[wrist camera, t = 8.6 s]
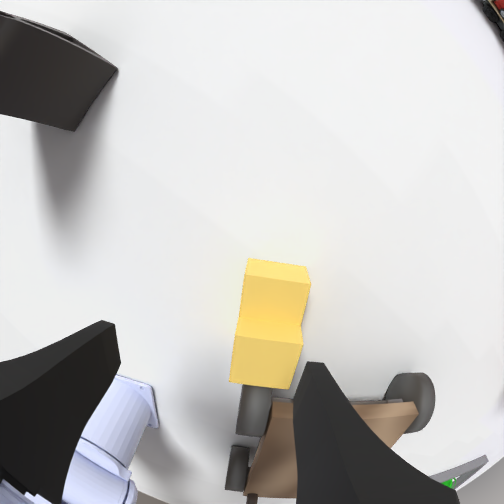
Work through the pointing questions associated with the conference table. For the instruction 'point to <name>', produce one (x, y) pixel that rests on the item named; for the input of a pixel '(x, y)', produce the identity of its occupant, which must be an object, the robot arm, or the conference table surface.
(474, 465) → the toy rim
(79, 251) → the conference table surface
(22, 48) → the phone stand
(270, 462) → the trolley
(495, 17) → the toy train
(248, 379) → the yellow step block
